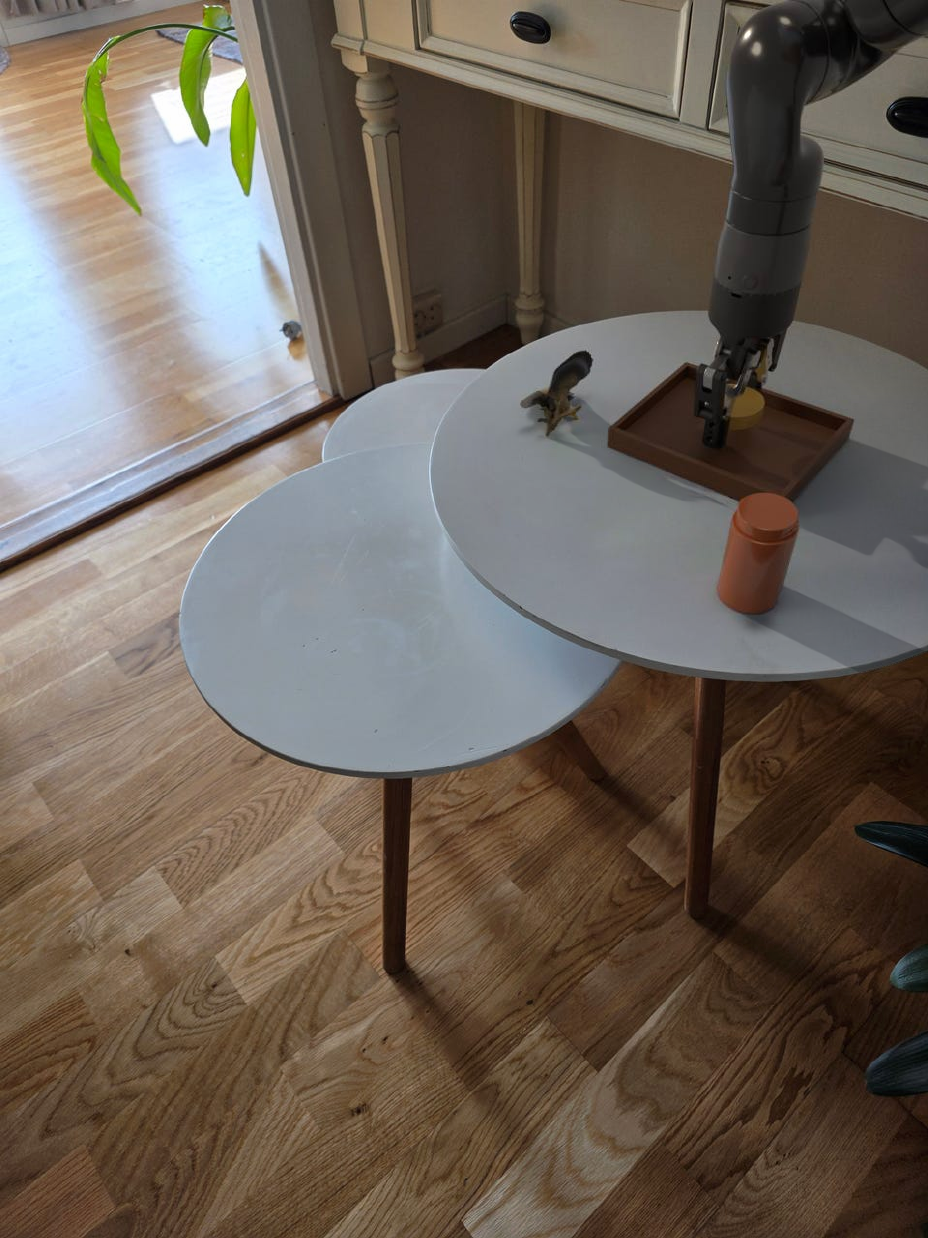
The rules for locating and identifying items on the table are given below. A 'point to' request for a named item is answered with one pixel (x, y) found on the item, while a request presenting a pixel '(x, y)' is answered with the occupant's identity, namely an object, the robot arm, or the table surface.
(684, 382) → the tray
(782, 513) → the jar
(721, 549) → the table surface
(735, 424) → the jar lid
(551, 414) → the eagle figurine
